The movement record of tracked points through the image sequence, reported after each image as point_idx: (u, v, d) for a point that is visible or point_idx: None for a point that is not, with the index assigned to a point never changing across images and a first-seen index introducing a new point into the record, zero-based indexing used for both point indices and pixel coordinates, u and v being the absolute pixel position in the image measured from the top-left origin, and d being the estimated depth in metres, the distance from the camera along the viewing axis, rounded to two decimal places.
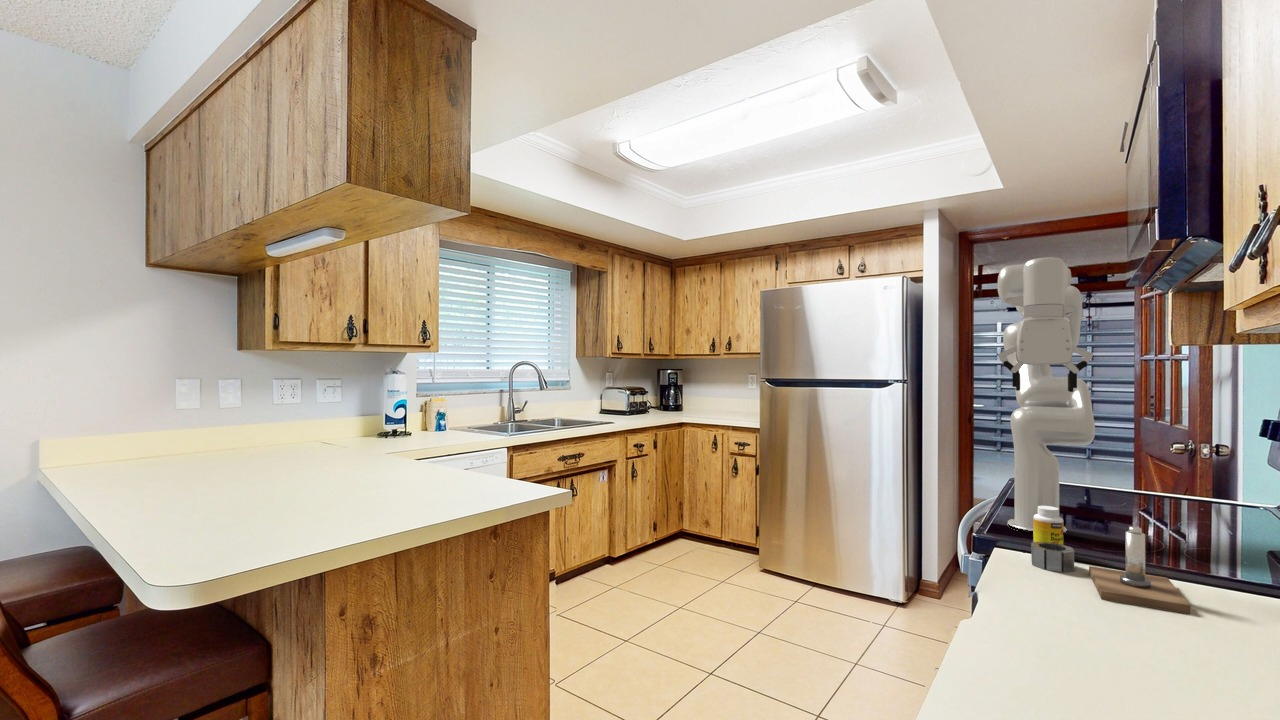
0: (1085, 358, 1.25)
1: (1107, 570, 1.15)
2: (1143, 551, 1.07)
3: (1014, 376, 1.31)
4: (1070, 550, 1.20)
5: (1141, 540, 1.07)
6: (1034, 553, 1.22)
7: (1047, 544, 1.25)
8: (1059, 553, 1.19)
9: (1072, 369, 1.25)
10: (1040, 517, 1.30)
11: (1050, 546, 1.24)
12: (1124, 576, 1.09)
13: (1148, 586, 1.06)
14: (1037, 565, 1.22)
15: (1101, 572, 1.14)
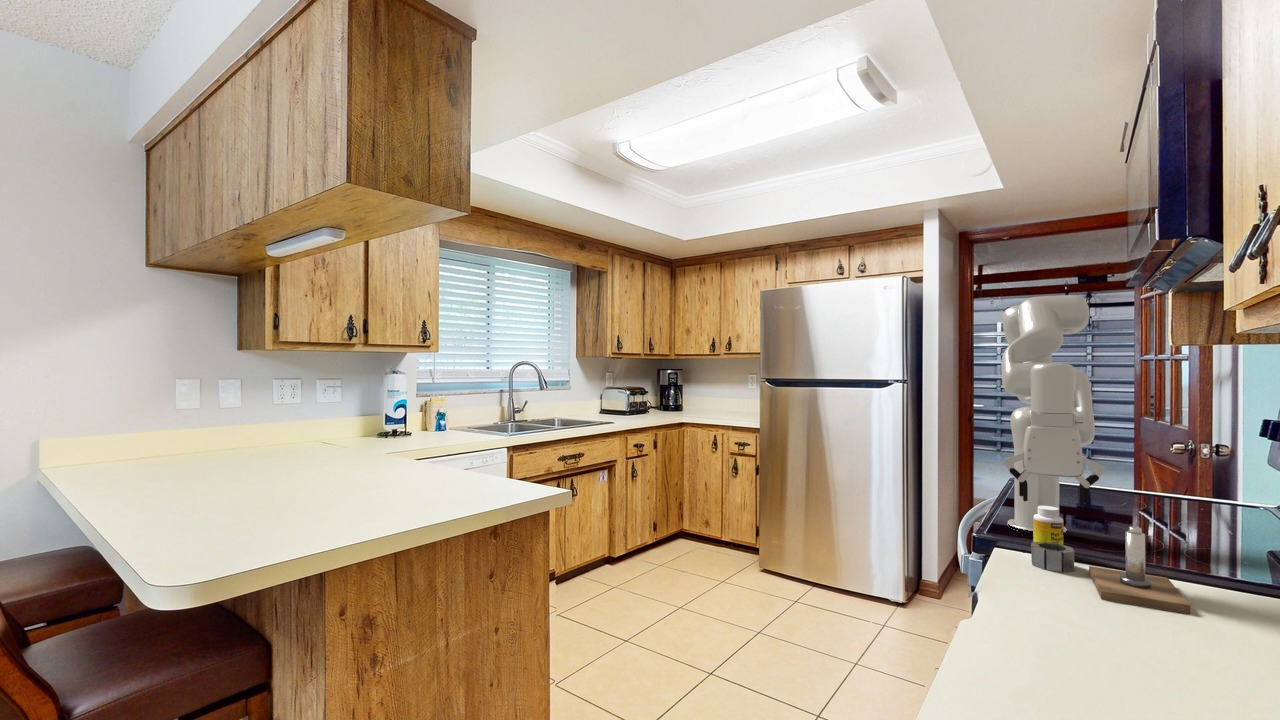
0: (1097, 472, 1.18)
1: (1107, 570, 1.15)
2: (1143, 551, 1.07)
3: (1021, 485, 1.24)
4: (1070, 550, 1.20)
5: (1141, 540, 1.07)
6: (1034, 553, 1.22)
7: (1047, 544, 1.25)
8: (1059, 553, 1.19)
9: (1083, 483, 1.18)
10: (1040, 517, 1.30)
11: (1050, 546, 1.24)
12: (1124, 576, 1.09)
13: (1148, 586, 1.06)
14: (1037, 565, 1.22)
15: (1101, 572, 1.14)
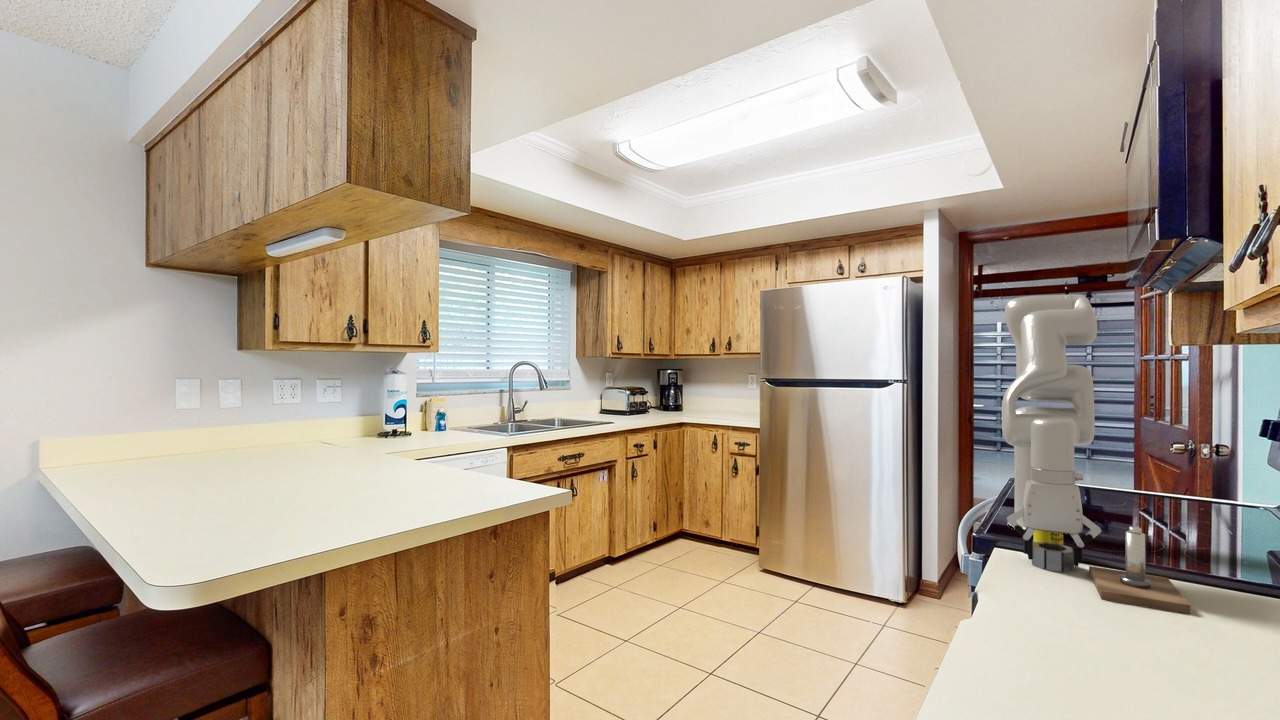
0: (1092, 532, 1.18)
1: (1107, 570, 1.15)
2: (1143, 551, 1.07)
3: (1026, 543, 1.24)
4: (1070, 550, 1.20)
5: (1141, 540, 1.07)
6: (1034, 553, 1.22)
7: (1047, 544, 1.25)
8: (1059, 553, 1.19)
9: (1077, 542, 1.19)
10: None
11: (1050, 546, 1.24)
12: (1124, 576, 1.09)
13: (1148, 586, 1.06)
14: (1037, 565, 1.22)
15: (1101, 572, 1.14)
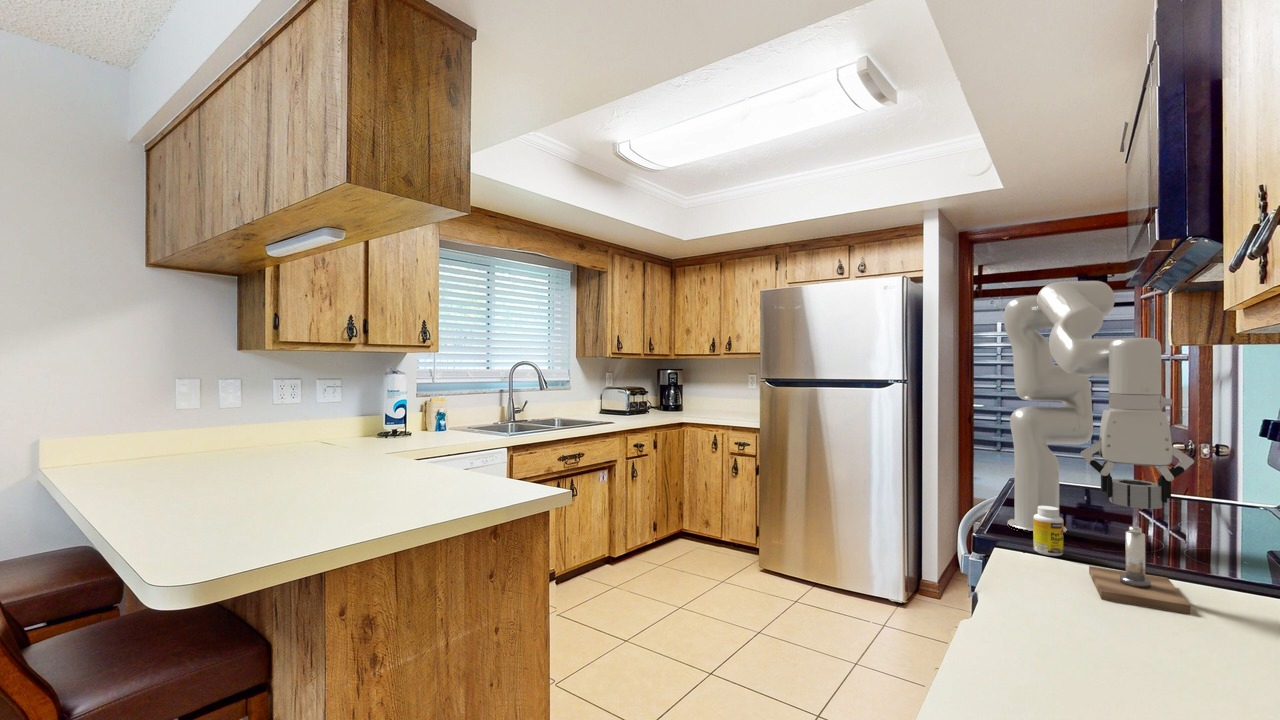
0: (1183, 464, 1.04)
1: (1107, 570, 1.15)
2: (1143, 551, 1.07)
3: (1104, 479, 1.10)
4: (1157, 485, 1.06)
5: (1141, 540, 1.07)
6: (1114, 490, 1.08)
7: (1127, 481, 1.11)
8: (1145, 487, 1.05)
9: (1166, 475, 1.05)
10: (1040, 517, 1.30)
11: (1131, 483, 1.10)
12: (1124, 576, 1.09)
13: (1148, 586, 1.06)
14: (1118, 503, 1.08)
15: (1101, 572, 1.14)
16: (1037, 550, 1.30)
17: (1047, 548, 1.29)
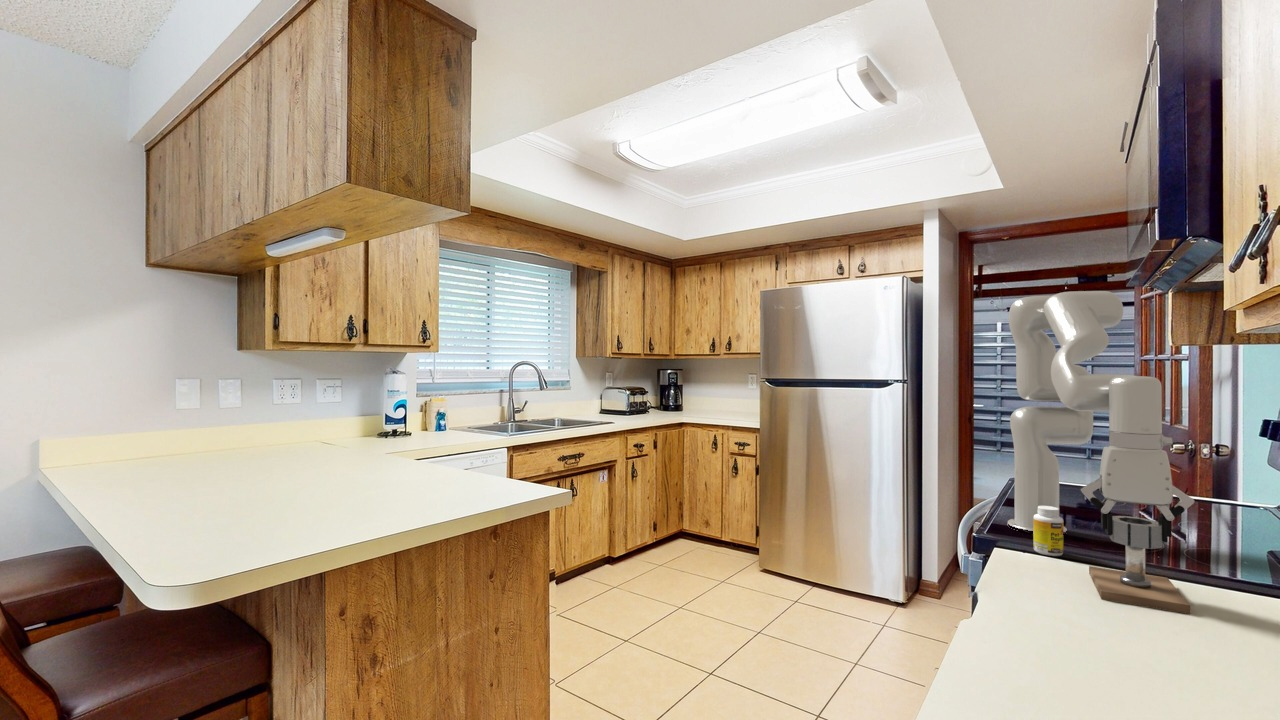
0: (1183, 503, 1.04)
1: (1107, 570, 1.15)
2: (1143, 551, 1.07)
3: (1104, 517, 1.10)
4: (1157, 524, 1.06)
5: None
6: (1115, 528, 1.08)
7: (1128, 518, 1.11)
8: (1146, 527, 1.05)
9: (1166, 515, 1.05)
10: (1040, 517, 1.30)
11: (1132, 520, 1.10)
12: (1124, 576, 1.09)
13: (1148, 586, 1.06)
14: (1119, 541, 1.08)
15: (1101, 572, 1.14)
16: (1037, 550, 1.30)
17: (1047, 548, 1.29)
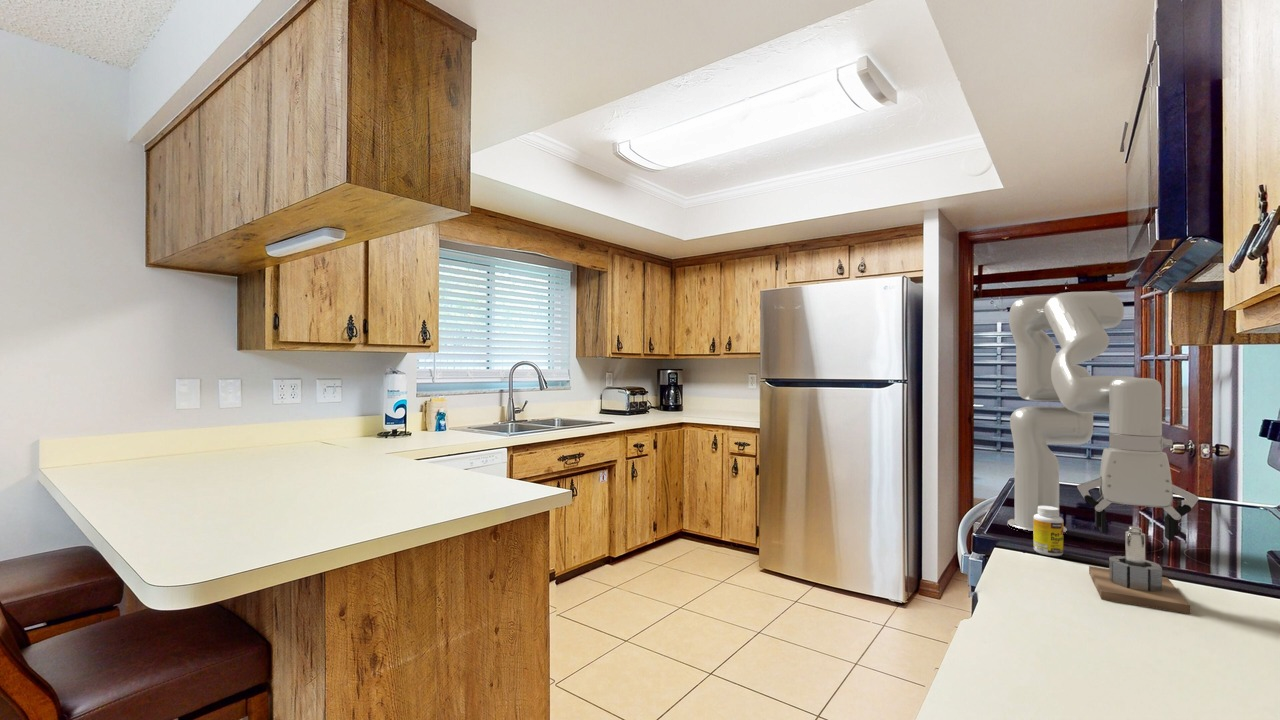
0: (1188, 502, 1.04)
1: (1107, 570, 1.15)
2: (1143, 551, 1.07)
3: (1098, 515, 1.11)
4: (1157, 566, 1.06)
5: (1141, 540, 1.07)
6: (1114, 569, 1.09)
7: None
8: (1145, 570, 1.05)
9: (1172, 514, 1.05)
10: (1040, 517, 1.30)
11: None
12: None
13: None
14: (1118, 583, 1.08)
15: (1101, 572, 1.14)
16: (1037, 550, 1.30)
17: (1047, 548, 1.29)
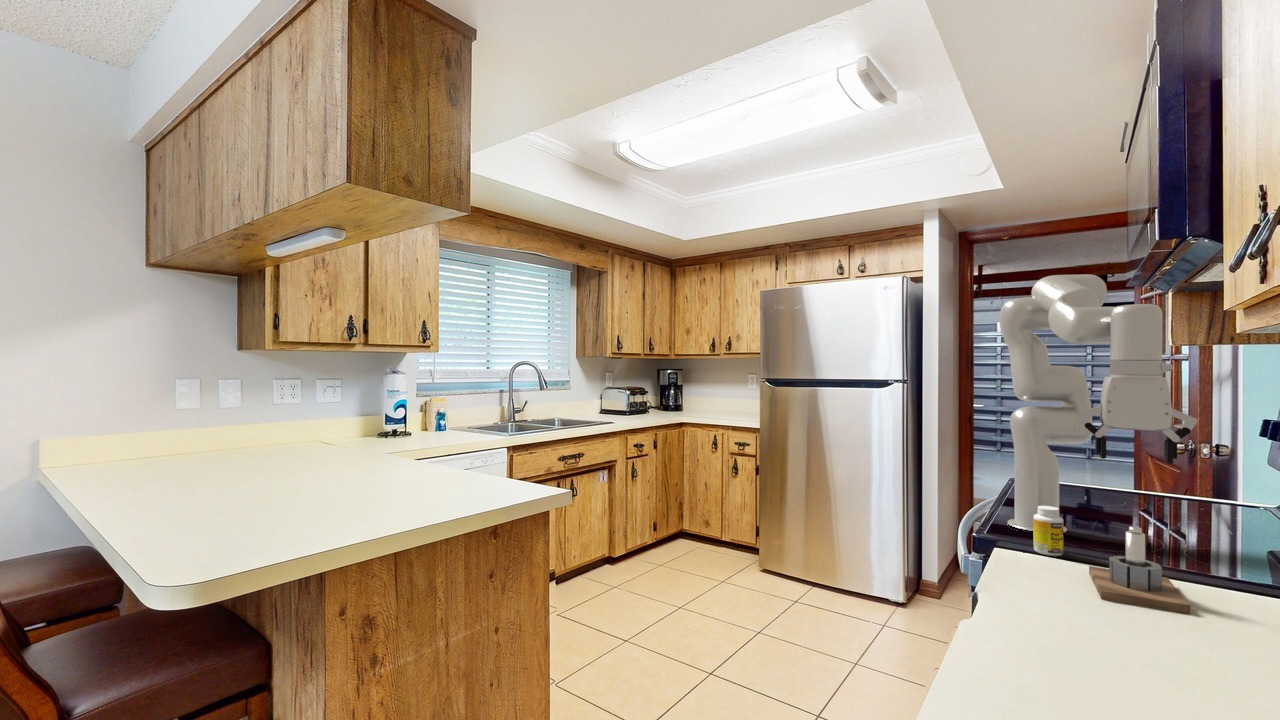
0: (1188, 424, 1.05)
1: (1107, 570, 1.15)
2: (1143, 551, 1.07)
3: (1098, 441, 1.12)
4: (1157, 566, 1.06)
5: (1141, 540, 1.07)
6: (1114, 569, 1.09)
7: None
8: (1145, 570, 1.05)
9: (1172, 437, 1.06)
10: (1040, 517, 1.30)
11: None
12: None
13: None
14: (1118, 583, 1.08)
15: (1101, 572, 1.14)
16: (1037, 550, 1.30)
17: (1047, 548, 1.29)
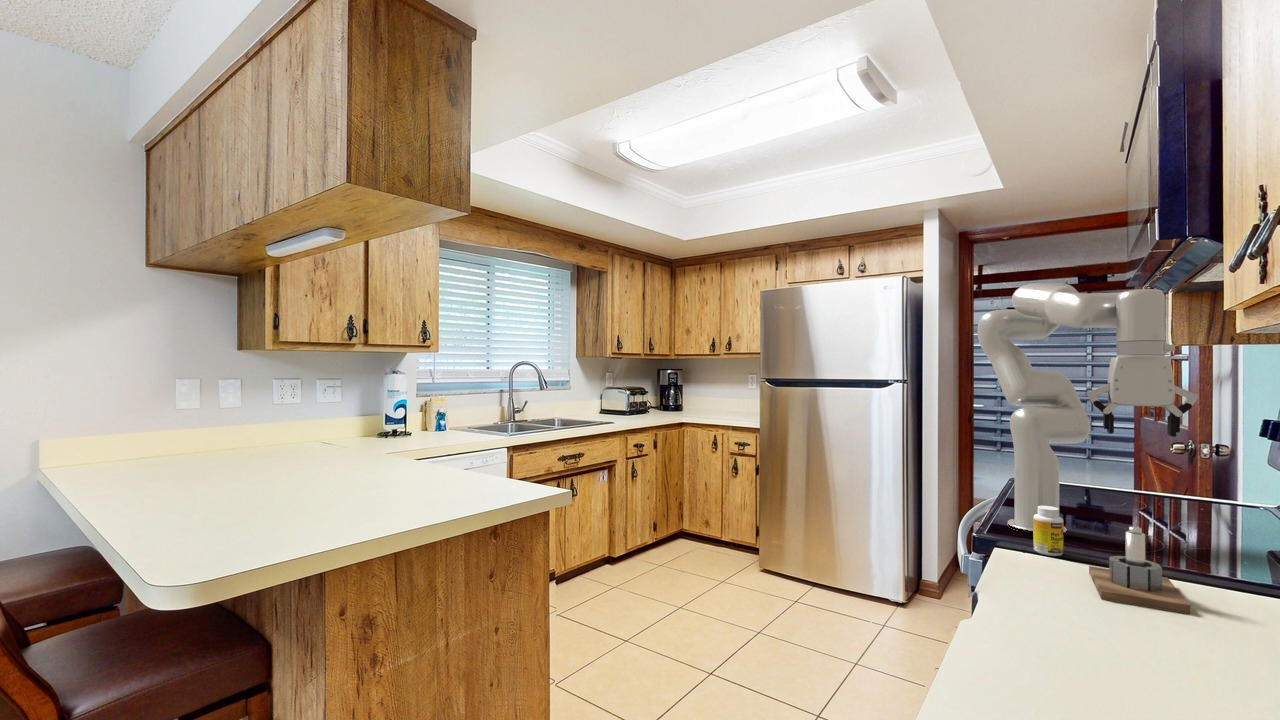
0: (1189, 400, 1.14)
1: (1107, 570, 1.15)
2: (1143, 551, 1.07)
3: (1106, 417, 1.20)
4: (1157, 566, 1.06)
5: (1141, 540, 1.07)
6: (1114, 569, 1.09)
7: None
8: (1145, 570, 1.05)
9: (1175, 412, 1.14)
10: (1040, 517, 1.30)
11: None
12: None
13: None
14: (1118, 583, 1.08)
15: (1101, 572, 1.14)
16: (1037, 550, 1.30)
17: (1047, 548, 1.29)
